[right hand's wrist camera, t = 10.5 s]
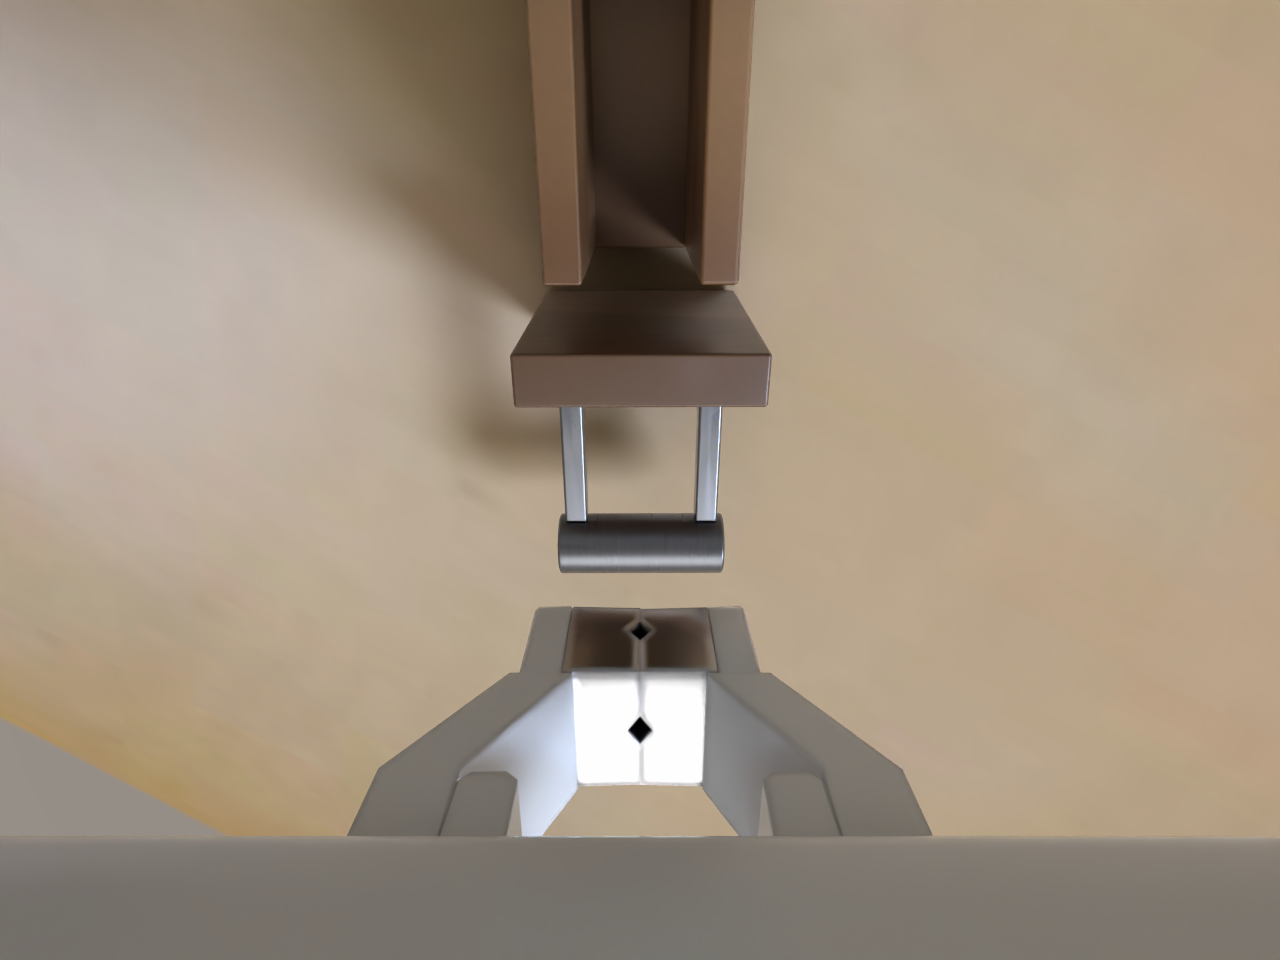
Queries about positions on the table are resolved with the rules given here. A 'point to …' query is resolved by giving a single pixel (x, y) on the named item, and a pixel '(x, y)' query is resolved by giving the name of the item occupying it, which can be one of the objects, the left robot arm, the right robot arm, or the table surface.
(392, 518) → the table surface
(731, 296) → the drawer
